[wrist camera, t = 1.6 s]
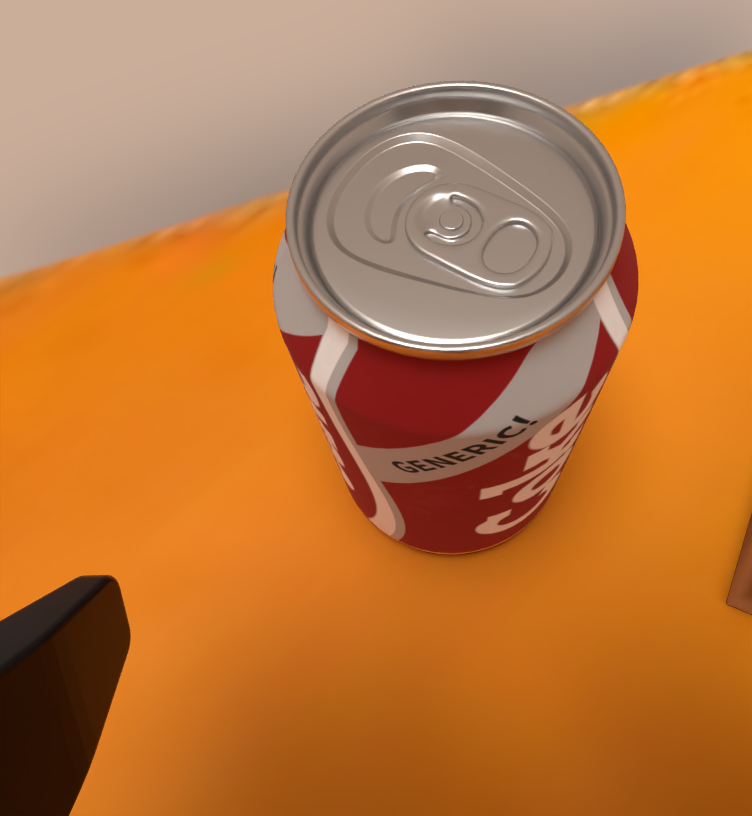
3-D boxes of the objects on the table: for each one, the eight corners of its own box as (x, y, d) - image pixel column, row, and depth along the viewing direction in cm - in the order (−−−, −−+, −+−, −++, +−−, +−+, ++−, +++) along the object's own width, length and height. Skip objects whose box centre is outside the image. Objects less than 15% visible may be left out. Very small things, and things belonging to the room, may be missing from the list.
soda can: (415, 328, 24) (390, 10, 13) (594, 421, 22) (738, 137, 11) (303, 486, 22) (164, 267, 11) (488, 603, 20) (539, 475, 9)
